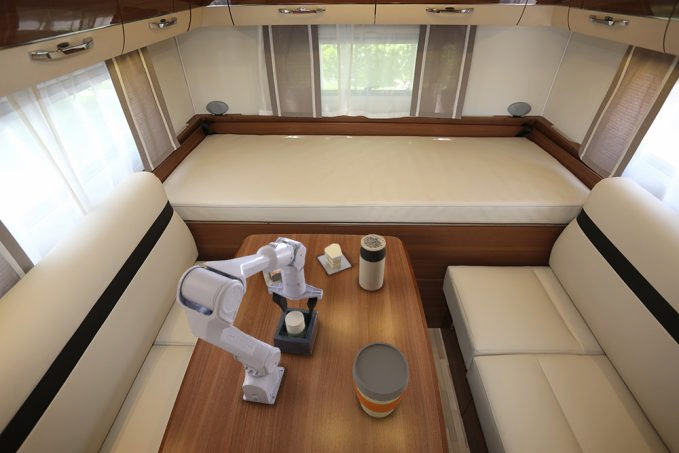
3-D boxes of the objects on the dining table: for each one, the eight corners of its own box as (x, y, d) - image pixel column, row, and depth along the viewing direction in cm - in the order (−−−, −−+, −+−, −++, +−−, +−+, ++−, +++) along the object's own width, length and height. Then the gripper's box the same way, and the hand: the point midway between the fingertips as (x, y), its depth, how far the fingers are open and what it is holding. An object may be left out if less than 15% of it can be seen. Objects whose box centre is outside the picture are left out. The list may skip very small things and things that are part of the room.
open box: (310, 355, 91) (309, 343, 88) (275, 350, 93) (272, 338, 89) (318, 323, 100) (317, 310, 96) (286, 319, 101) (284, 306, 97)
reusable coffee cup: (350, 375, 87) (349, 342, 77) (397, 372, 87) (403, 338, 78) (355, 428, 77) (355, 397, 68) (408, 423, 77) (416, 392, 68)
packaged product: (255, 246, 121) (281, 239, 124) (257, 255, 124) (283, 248, 126) (265, 279, 107) (295, 271, 110) (268, 289, 110) (296, 281, 113)
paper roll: (308, 331, 97) (304, 346, 93) (291, 329, 98) (286, 344, 94) (305, 311, 91) (301, 327, 88) (287, 309, 92) (282, 325, 88)
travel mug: (370, 295, 108) (372, 254, 97) (354, 281, 113) (354, 241, 102) (387, 283, 112) (391, 242, 101) (371, 270, 117) (373, 230, 105)
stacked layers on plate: (351, 266, 118) (351, 254, 115) (329, 274, 115) (328, 263, 112) (339, 249, 125) (338, 238, 122) (317, 257, 122) (316, 246, 119)
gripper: (323, 269, 88) (326, 302, 96) (271, 264, 90) (278, 297, 98) (318, 289, 82) (321, 323, 90) (262, 283, 84) (270, 316, 92)
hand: (298, 311), depth 94 cm, fingers open, 7 cm apart
